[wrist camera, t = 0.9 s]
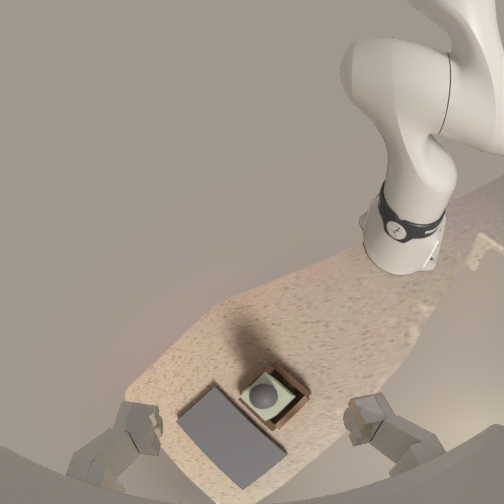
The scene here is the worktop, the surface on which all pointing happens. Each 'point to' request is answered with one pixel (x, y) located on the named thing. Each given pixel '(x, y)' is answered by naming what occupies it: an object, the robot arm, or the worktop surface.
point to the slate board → (230, 438)
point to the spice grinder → (267, 396)
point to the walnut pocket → (273, 425)
